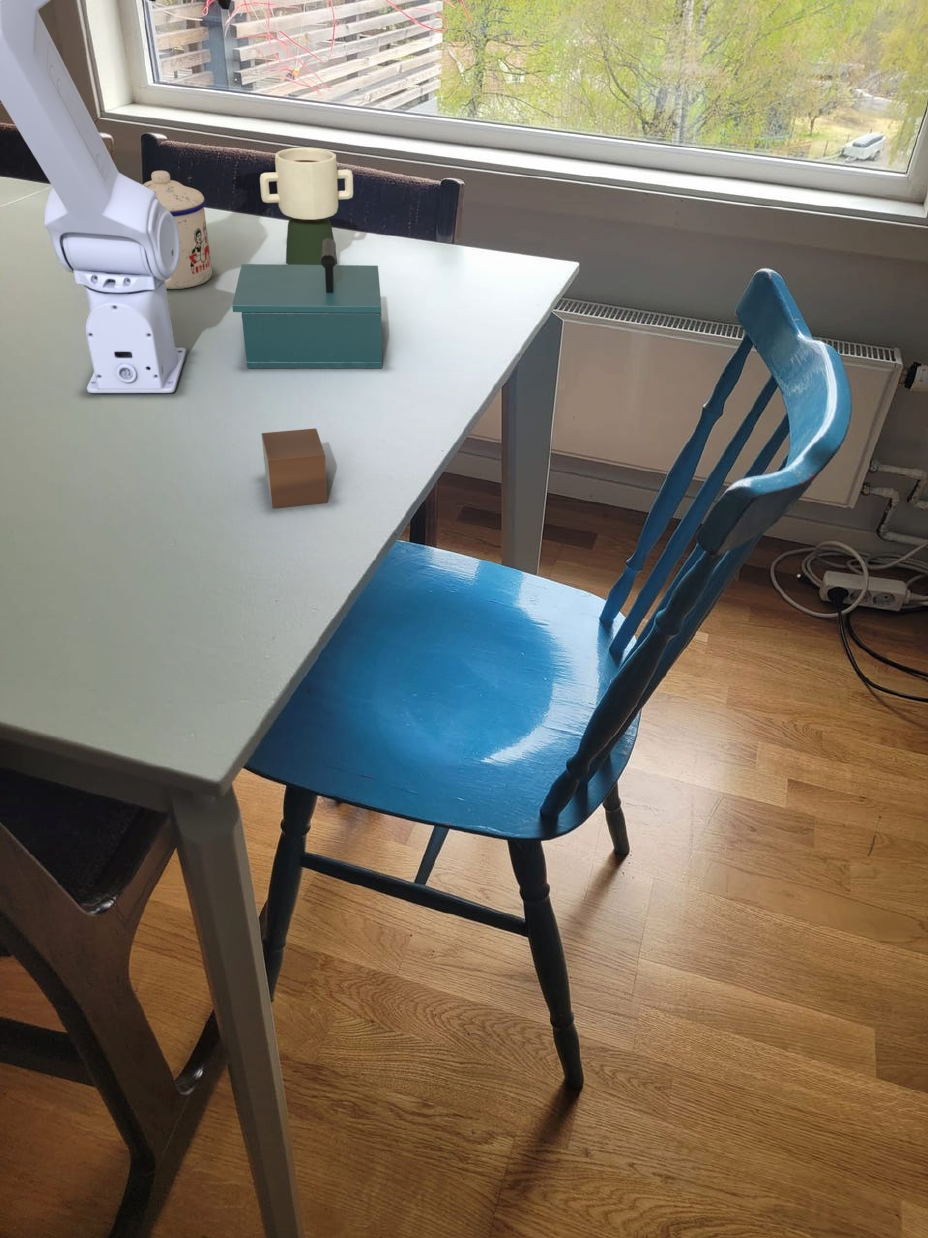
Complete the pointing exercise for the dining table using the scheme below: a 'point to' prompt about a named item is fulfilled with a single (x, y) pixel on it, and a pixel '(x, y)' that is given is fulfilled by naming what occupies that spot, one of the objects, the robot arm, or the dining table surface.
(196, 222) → the teacup with lid
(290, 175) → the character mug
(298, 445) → the block
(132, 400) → the dining table surface
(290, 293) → the lid
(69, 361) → the dining table surface
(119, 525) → the dining table surface
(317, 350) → the teal wooden box
